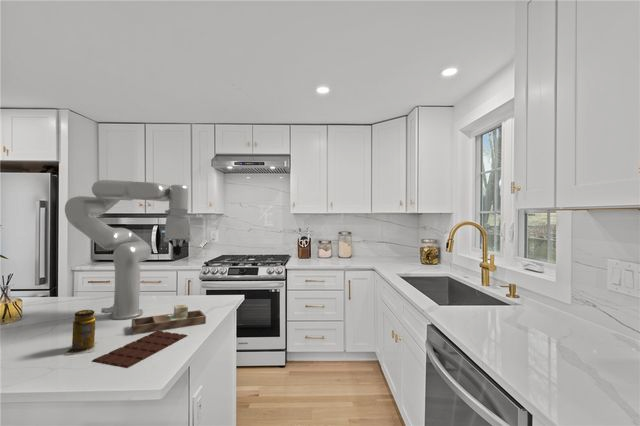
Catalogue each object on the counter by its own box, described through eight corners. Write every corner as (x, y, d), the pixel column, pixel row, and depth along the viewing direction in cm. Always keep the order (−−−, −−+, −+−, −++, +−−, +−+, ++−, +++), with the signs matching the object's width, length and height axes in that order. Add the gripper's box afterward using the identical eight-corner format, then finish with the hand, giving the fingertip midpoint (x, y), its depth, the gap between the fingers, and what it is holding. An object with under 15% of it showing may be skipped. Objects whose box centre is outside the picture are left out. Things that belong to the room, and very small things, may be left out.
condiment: (97, 342, 113) (98, 307, 113) (93, 352, 105) (94, 314, 105) (71, 345, 109) (73, 309, 109) (65, 355, 102) (66, 317, 102)
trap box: (133, 334, 120) (133, 326, 120) (131, 326, 129) (131, 318, 129) (205, 323, 135) (205, 316, 135) (199, 316, 143) (200, 310, 143)
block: (175, 318, 131) (176, 308, 131) (173, 315, 134) (174, 305, 134) (187, 316, 133) (187, 307, 133) (185, 314, 137) (185, 304, 137)
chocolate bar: (157, 332, 124) (157, 330, 124) (187, 337, 121) (187, 334, 121) (91, 362, 98) (91, 359, 98) (127, 369, 95) (127, 366, 95)
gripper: (160, 212, 135) (158, 257, 135) (197, 213, 143) (196, 255, 143) (158, 212, 141) (156, 255, 141) (194, 213, 149) (193, 253, 149)
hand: (176, 255), depth 142 cm, fingers closed
